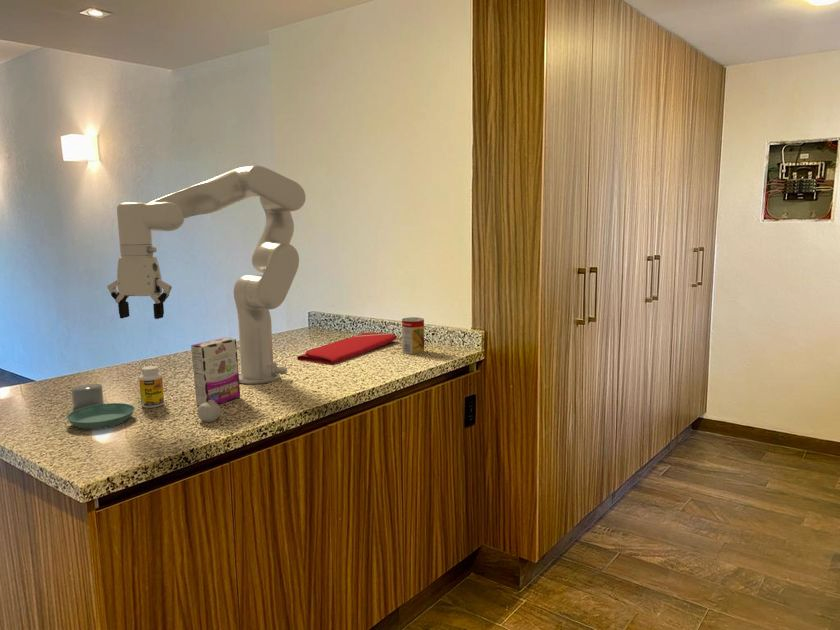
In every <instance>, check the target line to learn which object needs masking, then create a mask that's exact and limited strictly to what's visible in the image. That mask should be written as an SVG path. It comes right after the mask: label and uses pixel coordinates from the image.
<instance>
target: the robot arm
mask: <svg viewBox="0 0 840 630" xmlns="http://www.w3.org/2000/svg"><path fill="white" fill-rule="evenodd" d="M250 197H259V202H260V204H261V206H262V209H263V211H264V214H265V219H266V220H265V221H266V222H265V226H264V229H263V231H262V234H261V236H260V238H259V239H258V243H257V244H256V247H255V248H254V251H253V254H252V258H251V264H252V266H253V268H254V269H255V270H256V271H257V272H260V273H263V274H254V273H253V274H245V275H243V276H240V277H239V278H238V279H237V280H236V282H235V284H234V286H233V299H234V302H235V303H234V304H235V307H236V312H237V318H238V319H237V321H238V338H239V353H240V355H239V356H240V372H241V373H239V384H249V385H250V384H251V385H253V384H254V385H257V384H265V383H271V382H273V381H276V380H278V379H279V378H280V374H281V375H287V373H288V368H287V367H286V366H278V365H277V362H276V361H274V354H273V353H274V352H273V349H274V348H273V330H272V317H271V313H270V310H275V309H277V308H278V307H280V306H281V305H282V304H283V302H284V301H285V299H286V298H287V295H288V293H289V290H290V288H291V286H292V284H293V281H294V279H295V277H296V274H297V272H298V270H299V264H300V255H299V253H298V250H297V249H296V248H295V246H294V245H292V244H290V243H291V242H292V241H291V240H292V239H293V236H294V231H295V224H294V219H293V215H292V213H291V212H296V211H298V210H300V209H302V208H303V206H304V205H305V203H306V192H305V189H304V188H303V187H302V185H300V184H299V183H298V182H297V181H295V180H293V179H291V178H288V177H286V176H285V175H282V174H280V173H278V172H276V171H274V170H272V169H269V168H267V167H265V166H262V165H257V164H256V165H247V166H241V167H237V168H234V169H231V170H229V171H227V172H225V173H222V174H220V175H217V176H214V177H213V178H210V179H207V180H206V181H202V182H200V183H197V184H194V185H191V186H189V187H187V188H184V189H182V190H181V189H180V190H179V191H175V192H173V193H170V194H167V195H165V196H162V197H160V198H159V197H158V198H157V199H155V200H152V201H150V202H148V203H145V202H121V203H118V205H117V207H116V214H117V215H116V217H117V226H118V229H117V230H118V240H119V252H120V253H119V254H120V257H118V260H117V268H116V269H117V270H116V273H117V275H116V277H117V278H116V280H115V281H113V282H112V283H110V284H108V285H107V287H106V288H107V289H108V291H109V293H110V295H111V297H112V298H113V299H114V301H115V303H116V304H117V307H118V315H119V319H125V318H129V317H130V306H129V305H130V304H129V301H127V300H128V298H129V297H150V298H151V299H152V300H153V301H154V303H153V305H152V306H153V318H154V319H155V320H159V319H162V318H164V314H165V309H164V303H165V302H166V301H167V299H168V298H169V296H170V293H171V290H172V288H173V287H172V285H170V284H168V283H167V282H165V281H163V280H162V274H161V269H160V266H159V262H158V258H157V256H154V253H157V248H156V247H155V246H153V239H152V231H154V232H159V231H160V232H173V231H177V230H178V229H179V228H181V227H182V226H183V225H184V222H185V219H189V218H190V217H194V216H195V217H196V216H200V215H202V216H203V215H207V214H208V215H209V214H211V213H215V212H218V211H221V210H223V209H225V208H228V207H229V206H231V205H234V204H235V203H238V202H241V201H244V200H245V199H248V198H250Z"/></svg>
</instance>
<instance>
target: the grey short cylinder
mask: <svg viewBox="0 0 840 630" xmlns="http://www.w3.org/2000/svg"><path fill="white" fill-rule="evenodd" d="M103 392H104V391H103V385H101V384H97V383H89V384H82V385H77V386H75V387H73V388H71V395H72V396H71V397H72V407H73V409H74V408H75V409H74V410H76V409H80V408H84V407H88V406H93V405H99V404H105V403H104V395H103V394H104V393H103Z"/></svg>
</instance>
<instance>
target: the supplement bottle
mask: <svg viewBox="0 0 840 630" xmlns="http://www.w3.org/2000/svg"><path fill="white" fill-rule="evenodd" d="M138 383H139V393H140V394H139V395H140V405H141V407H142V408H144V409H145V408H147V409H153V408H154V409H155V408H158V407H161V406H163V405H164V404H165V398H164V395H165V394H164V382H163V375H162V373H160V370H159V366H156V365H148V366H144V367H142V368H141V375H139V377H138Z"/></svg>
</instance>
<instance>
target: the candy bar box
mask: <svg viewBox="0 0 840 630" xmlns="http://www.w3.org/2000/svg"><path fill="white" fill-rule="evenodd" d="M190 346H191V359H192V360H191V361H192V369H193V381H194V391H195V392H194V393H195V403H196V406H197V407H199V406H200V405H201V404H203V403H206V402H208V401H209V400H213V401H215V403H217V404H218V405H219V406H220V405H221V404H224V402H225V403H227V402H230V401H233V400H236V399H238V398H240V397H241V388H240V382H239V374H240V373H239V363H238V362H239V361H238V350H237V349H238V348H237V339H236V338H231V337H221V338H217V339H211V340H208V341H205V342H200V343H196V344H191V345H190Z"/></svg>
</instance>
